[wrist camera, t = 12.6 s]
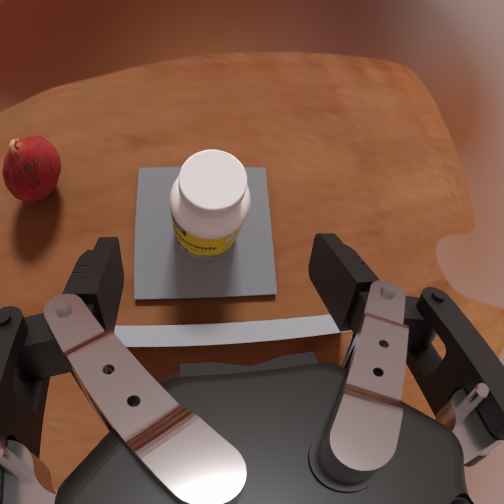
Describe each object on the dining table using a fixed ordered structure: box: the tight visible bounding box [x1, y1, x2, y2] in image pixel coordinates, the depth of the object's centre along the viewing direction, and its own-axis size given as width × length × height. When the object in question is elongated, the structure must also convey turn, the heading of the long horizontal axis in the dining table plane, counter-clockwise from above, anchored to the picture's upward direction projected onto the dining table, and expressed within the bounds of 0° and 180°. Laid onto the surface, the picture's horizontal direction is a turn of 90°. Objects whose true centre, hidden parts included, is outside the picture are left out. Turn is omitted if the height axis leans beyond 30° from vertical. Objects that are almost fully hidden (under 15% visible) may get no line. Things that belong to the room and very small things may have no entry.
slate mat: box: [134, 167, 277, 300], centre depth 27 cm, size 12×12×1 cm
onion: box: [3, 136, 61, 202], centre depth 21 cm, size 6×6×8 cm
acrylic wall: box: [114, 315, 352, 347], centre depth 23 cm, size 20×2×4 cm, turn 94°
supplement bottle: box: [170, 150, 251, 259], centre depth 22 cm, size 5×5×10 cm
